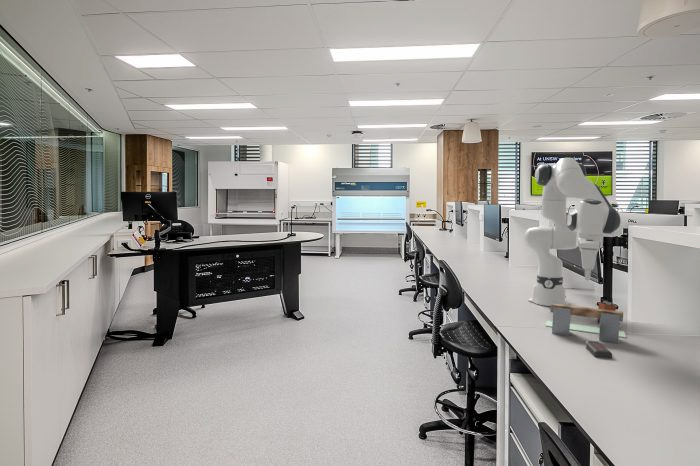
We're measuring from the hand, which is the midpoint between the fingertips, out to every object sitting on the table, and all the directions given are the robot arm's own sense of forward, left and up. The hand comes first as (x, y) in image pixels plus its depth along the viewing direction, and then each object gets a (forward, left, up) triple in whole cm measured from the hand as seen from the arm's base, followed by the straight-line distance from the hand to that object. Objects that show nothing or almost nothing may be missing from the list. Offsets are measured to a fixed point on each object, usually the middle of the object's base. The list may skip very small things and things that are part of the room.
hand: (587, 278), depth 159 cm
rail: (0, 0, -15) cm, 15 cm away
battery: (-22, +8, -23) cm, 33 cm away
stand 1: (0, -8, -23) cm, 24 cm away
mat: (-10, 0, -23) cm, 25 cm away
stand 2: (0, +8, -23) cm, 24 cm away
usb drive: (+17, +4, -23) cm, 29 cm away
